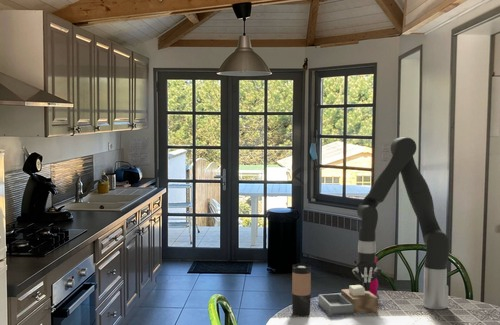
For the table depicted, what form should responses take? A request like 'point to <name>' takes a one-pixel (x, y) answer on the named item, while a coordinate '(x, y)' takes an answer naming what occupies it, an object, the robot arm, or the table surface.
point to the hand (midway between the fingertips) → (366, 290)
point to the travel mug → (301, 289)
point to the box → (335, 304)
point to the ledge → (362, 301)
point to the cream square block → (356, 290)
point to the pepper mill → (374, 284)
